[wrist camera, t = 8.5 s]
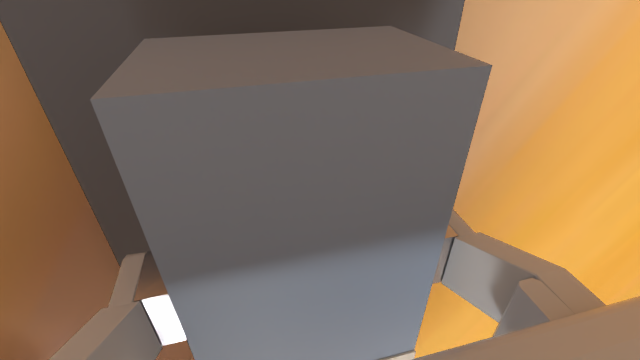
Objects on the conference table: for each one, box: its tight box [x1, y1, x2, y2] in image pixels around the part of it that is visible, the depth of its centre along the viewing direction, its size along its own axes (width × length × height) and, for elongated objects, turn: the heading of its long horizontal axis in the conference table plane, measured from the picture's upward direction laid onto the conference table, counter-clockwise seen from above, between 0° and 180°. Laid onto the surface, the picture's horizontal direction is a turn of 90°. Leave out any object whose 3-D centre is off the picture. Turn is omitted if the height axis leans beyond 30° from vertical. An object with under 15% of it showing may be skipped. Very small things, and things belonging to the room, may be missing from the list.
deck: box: [90, 26, 492, 360], centre depth 10 cm, size 11×6×4 cm, turn 179°
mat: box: [0, 0, 465, 267], centre depth 14 cm, size 15×14×1 cm
